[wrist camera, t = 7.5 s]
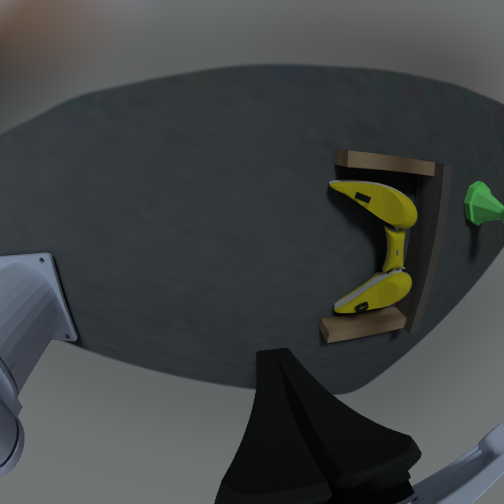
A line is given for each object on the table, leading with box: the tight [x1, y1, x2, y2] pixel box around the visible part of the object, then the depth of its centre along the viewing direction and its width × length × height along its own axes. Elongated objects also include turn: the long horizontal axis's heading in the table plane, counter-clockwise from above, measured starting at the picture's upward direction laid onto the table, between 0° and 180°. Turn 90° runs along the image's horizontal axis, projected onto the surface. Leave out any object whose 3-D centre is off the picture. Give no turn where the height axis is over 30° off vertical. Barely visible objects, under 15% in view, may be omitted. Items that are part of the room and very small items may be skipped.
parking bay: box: [319, 150, 452, 343], centre depth 19 cm, size 8×14×3 cm, turn 1°
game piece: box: [464, 181, 504, 226], centre depth 17 cm, size 4×4×6 cm
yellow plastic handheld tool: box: [329, 180, 419, 313], centre depth 19 cm, size 10×6×4 cm, turn 9°
